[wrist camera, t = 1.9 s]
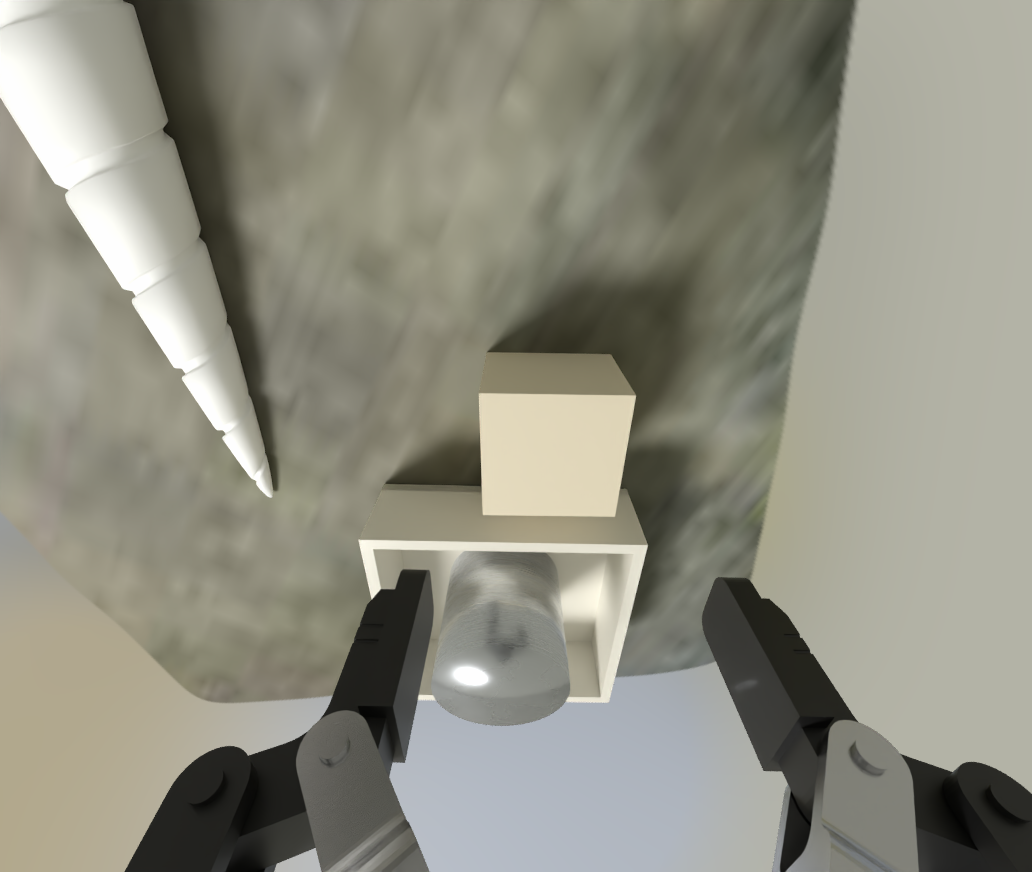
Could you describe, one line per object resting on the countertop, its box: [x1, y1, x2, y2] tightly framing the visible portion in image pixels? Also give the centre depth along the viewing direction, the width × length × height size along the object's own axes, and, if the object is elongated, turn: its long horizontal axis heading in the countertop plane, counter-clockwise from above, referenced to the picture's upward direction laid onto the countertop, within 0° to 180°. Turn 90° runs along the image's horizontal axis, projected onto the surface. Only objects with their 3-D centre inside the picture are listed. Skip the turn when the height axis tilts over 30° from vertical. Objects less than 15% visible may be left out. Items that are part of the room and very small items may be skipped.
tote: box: [359, 484, 648, 703], centre depth 25 cm, size 14×14×4 cm
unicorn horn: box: [0, 0, 273, 498], centre depth 17 cm, size 5×24×5 cm, turn 177°
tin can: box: [431, 551, 570, 726], centre depth 24 cm, size 7×7×7 cm
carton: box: [479, 352, 636, 517], centre depth 19 cm, size 6×6×5 cm
